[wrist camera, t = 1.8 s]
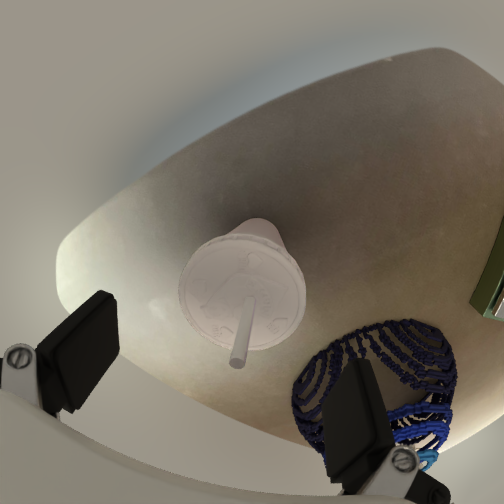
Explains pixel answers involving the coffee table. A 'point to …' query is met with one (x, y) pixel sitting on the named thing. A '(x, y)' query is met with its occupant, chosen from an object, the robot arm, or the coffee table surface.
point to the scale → (491, 280)
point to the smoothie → (243, 290)
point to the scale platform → (499, 306)
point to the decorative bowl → (418, 409)
